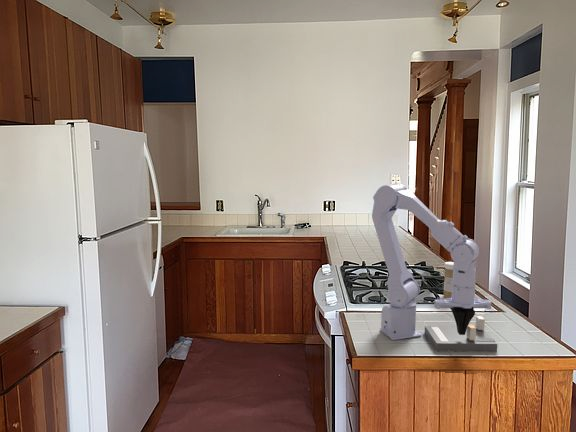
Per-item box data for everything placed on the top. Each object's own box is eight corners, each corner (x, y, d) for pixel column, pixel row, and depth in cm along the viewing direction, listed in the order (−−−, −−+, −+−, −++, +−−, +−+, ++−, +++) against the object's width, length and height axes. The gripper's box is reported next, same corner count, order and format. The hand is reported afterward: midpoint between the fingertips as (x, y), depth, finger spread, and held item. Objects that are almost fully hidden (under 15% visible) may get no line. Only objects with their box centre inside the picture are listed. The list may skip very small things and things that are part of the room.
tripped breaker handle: (469, 340, 120) (470, 328, 119) (466, 336, 122) (467, 324, 122) (475, 340, 120) (476, 328, 119) (472, 336, 122) (472, 324, 122)
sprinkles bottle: (446, 296, 164) (447, 260, 162) (458, 298, 161) (460, 262, 159) (440, 299, 161) (442, 263, 159) (453, 302, 157) (455, 265, 156)
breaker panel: (436, 351, 119) (436, 343, 119) (424, 332, 131) (424, 325, 131) (496, 351, 119) (497, 343, 118) (479, 333, 130) (479, 325, 130)
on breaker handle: (478, 329, 126) (479, 319, 126) (475, 326, 129) (476, 316, 128) (484, 330, 126) (484, 319, 126) (480, 326, 129) (481, 316, 128)
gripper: (440, 289, 115) (438, 339, 117) (497, 289, 115) (494, 339, 116) (432, 281, 122) (431, 328, 124) (486, 281, 121) (483, 329, 123)
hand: (461, 333), depth 121 cm, fingers closed
